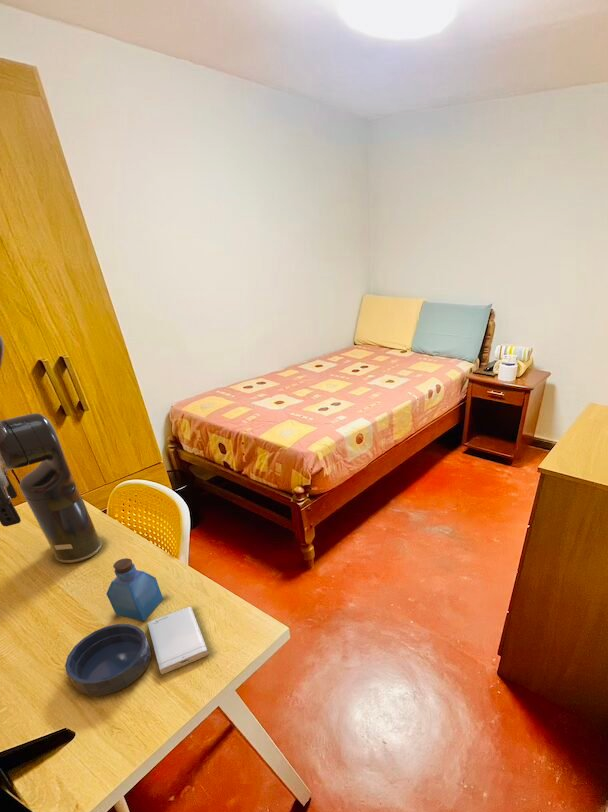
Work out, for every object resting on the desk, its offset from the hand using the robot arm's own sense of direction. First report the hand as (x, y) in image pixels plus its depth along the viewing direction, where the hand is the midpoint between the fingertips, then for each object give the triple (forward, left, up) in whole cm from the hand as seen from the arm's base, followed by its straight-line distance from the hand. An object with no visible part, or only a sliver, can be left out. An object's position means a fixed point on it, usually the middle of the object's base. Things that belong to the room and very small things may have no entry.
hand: (11, 510), depth 66 cm
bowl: (+13, +4, -28) cm, 31 cm away
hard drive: (+14, +15, -28) cm, 35 cm away
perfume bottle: (+1, +11, -28) cm, 30 cm away
